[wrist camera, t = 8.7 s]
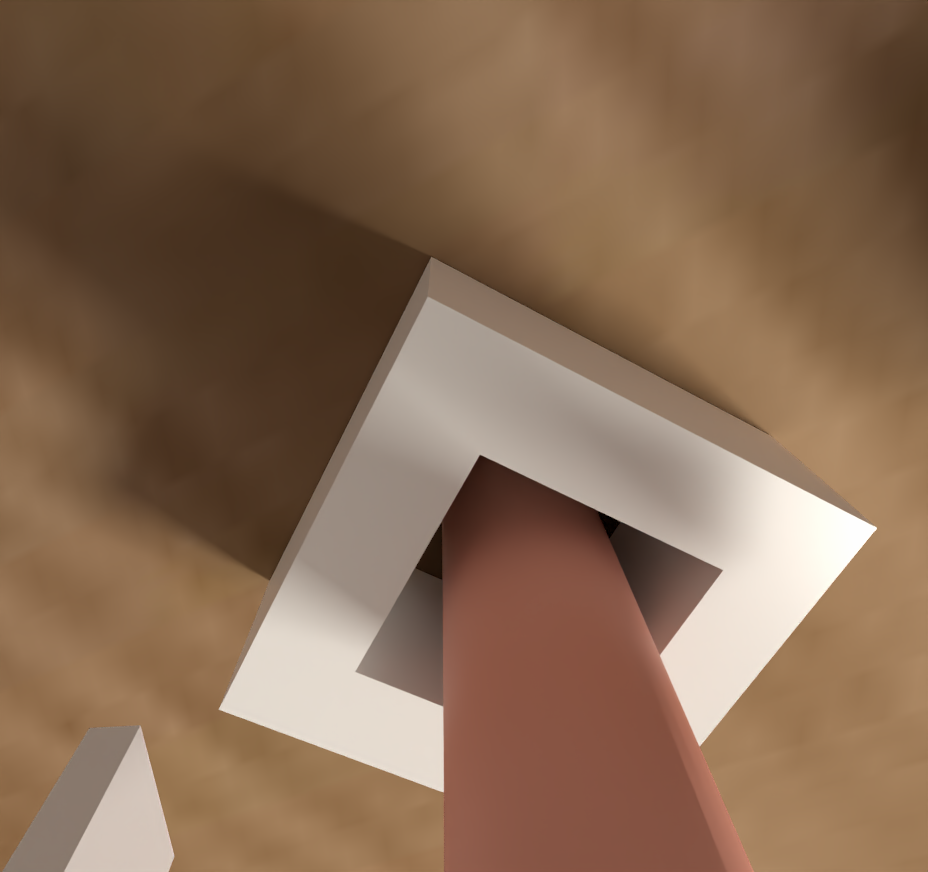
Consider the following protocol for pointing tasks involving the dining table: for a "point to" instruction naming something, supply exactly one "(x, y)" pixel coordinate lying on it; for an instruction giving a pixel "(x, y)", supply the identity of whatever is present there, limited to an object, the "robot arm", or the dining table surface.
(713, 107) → the dining table surface
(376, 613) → the socket block
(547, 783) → the peg
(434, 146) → the dining table surface
